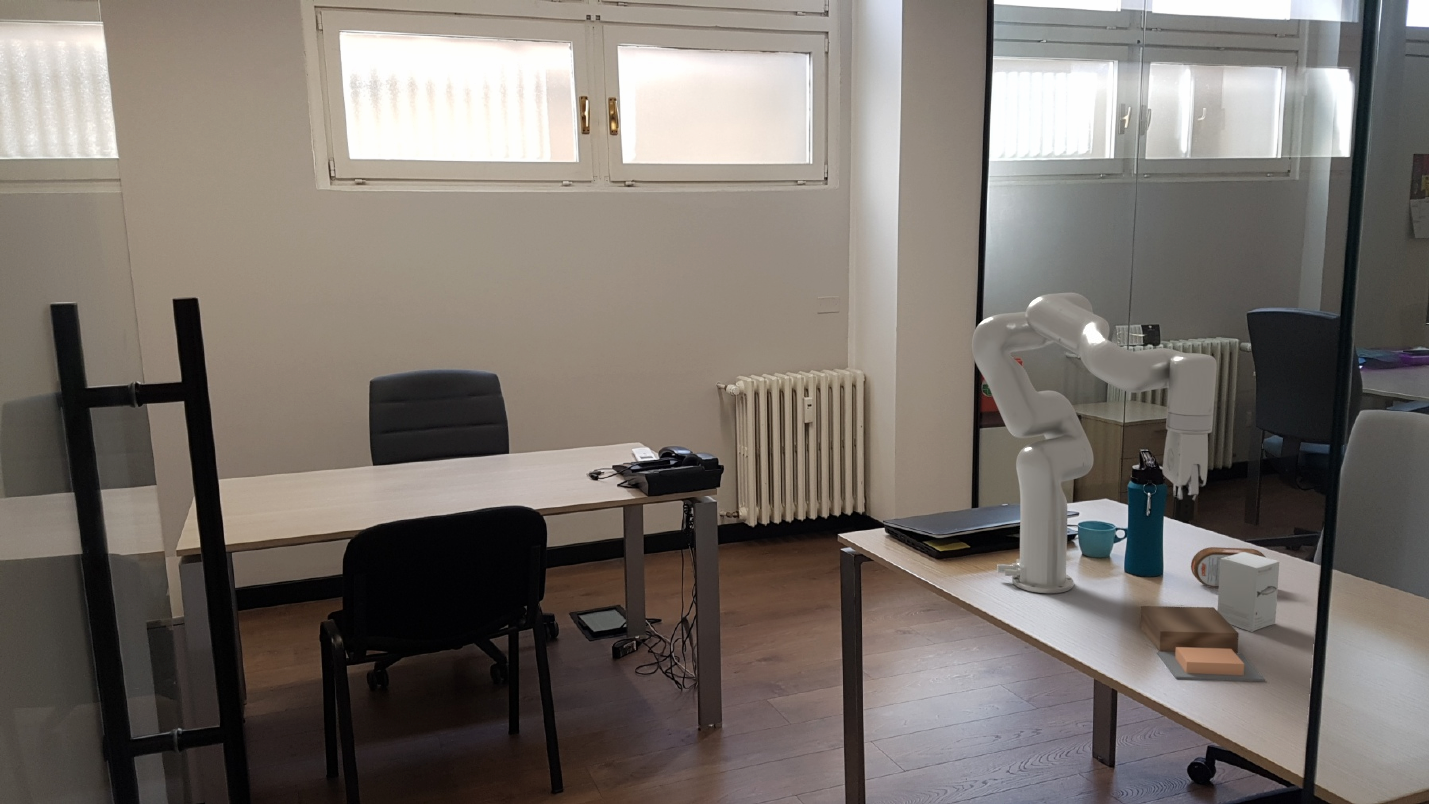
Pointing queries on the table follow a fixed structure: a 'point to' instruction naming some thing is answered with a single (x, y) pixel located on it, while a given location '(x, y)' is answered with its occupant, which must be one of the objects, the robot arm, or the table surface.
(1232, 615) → the supplement box
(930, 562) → the table surface
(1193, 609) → the wooden block
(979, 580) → the table surface
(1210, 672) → the orange block
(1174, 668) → the mat
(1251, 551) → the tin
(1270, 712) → the table surface
